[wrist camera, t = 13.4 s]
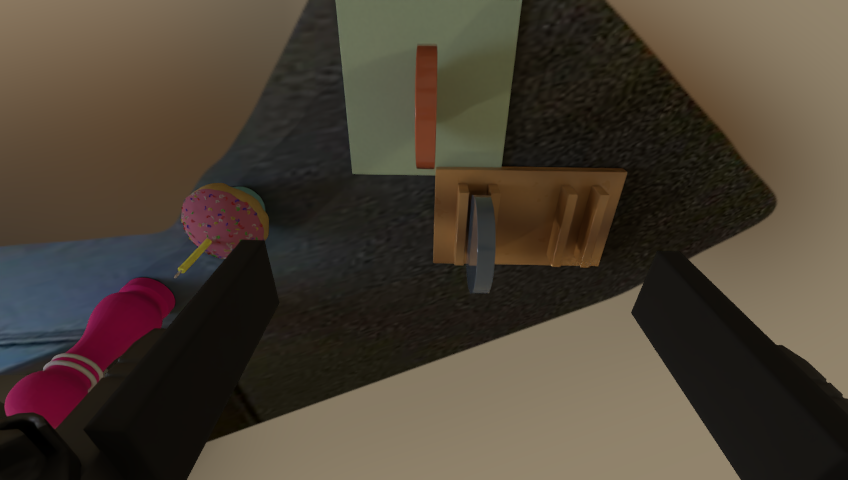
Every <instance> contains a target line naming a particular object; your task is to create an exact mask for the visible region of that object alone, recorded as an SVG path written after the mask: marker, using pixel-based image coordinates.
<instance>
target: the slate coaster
mask: <svg viewBox="0 0 848 480" xmlns="http://www.w3.org/2000/svg"><path fill="white" fill-rule="evenodd" d="M495 250H496V229H495V215H494V207H493V202H492V199H491V197H490V195H474V194H473V195H472V196H471V198H470V202H469V208H468V217H467V232H466V269H467V281H468V288H469V291H470V293H471V294H488V293H489V291H490V289H491V285H492V281H493V275H494V266H495Z"/></svg>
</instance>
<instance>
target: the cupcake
mask: <svg viewBox="0 0 848 480" xmlns="http://www.w3.org/2000/svg"><path fill="white" fill-rule="evenodd" d="M182 222H183V225H184V229H185V233H187V234H188V235H189V239H190V240H191V241H192V242H193V243H194V244H195V245H197V249H196V250H195V251H194V252H193V253H192V254H191V255H190V256H189V257H188V258H187V260H186V261H185V262H184V263H183V264H182V265H181V266H180V267H179V268H178V271H179V272H178V273H177V274H176V275H175V276H174V278H177V277H178V275H179V274H180V273H185V272H186V271H187V270H188V268H189V267H190V266H191V265H192V264H193V263H194V262H195V261H196V260H197V259H198V258H199V256H200V255H201V254H202V253H203V252H205V253H208V254H211V255H212V256H214V257H216V258H220V259H226V258H227V256H228V255H229V254H230V253H231V252H232V250H233V249H234V248H235V247H236V246H237V244H238V243H239V242H240V241H241V240H264V241H265V240H266V238H267V237H268V234H269V218H268V215H267V213H266V212H265V205H264V203H263V201H262V199H261V198H260V196H259V195H258V194H257V193H255V192H254V191H252V190H251V189H248V188H245V187H230V186H228V185H226V184H224V183H213V184H208V185H205V186H203V187H201V188H199V189H198V190H196V191H195V192H193V193H192V194H190V195H189V197H187V198H186V199H185V200H184V203H183V207H182V219H181V223H182Z"/></svg>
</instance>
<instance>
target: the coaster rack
mask: <svg viewBox="0 0 848 480" xmlns="http://www.w3.org/2000/svg"><path fill="white" fill-rule="evenodd" d="M626 175H627V172H626V171H625V170H624V169H623V168H568V167H501V168H493V167H436V175H435V212H434V250H433V263H455V265H464V264H466V232H467V217H468V208H469V202H470V198H471V196H472V195H473V194H474V195H490V197H491V199H492V202H493V207H494V215H495V229H496V250H495V264H518V265H551V266H552V267H560V266H561V265H573V266H580V267H589V266H598V265H599V262H600V259H601V256H602V252H603V249H604V246H605V243H606V240H607V236H608V233H609V230H610V227H611V223H612V220H613V217H614V214H615V211H616V207H617V204H618V201H619V198H620V195H621V191H622V188H623V185H624V182H625V179H626Z"/></svg>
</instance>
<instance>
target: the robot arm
mask: <svg viewBox="0 0 848 480" xmlns="http://www.w3.org/2000/svg"><path fill="white" fill-rule="evenodd" d="M278 305H279V299H278V295H277V291H276V287H275V283H274V278H273V274H272V270H271V266H270V262H269V258H268V254H267V249H266V245H265V241H264V240H241V241H240V242H239V243H238V244H237V246H236V247H235V248H234V249H233V250H232V252H231V253H230V254H229V255H228V256H227V258H226V259H225V260H224V261H223V262H222V264H221V265H220V266H219V267H218V268H217V269H216V271H215V272H214V273H213V274H212V275H211V277H210V278H209V279H208V280H207V281H206V283H205V284H204V285H203V286H202V287H201V289H200V290H199V291H198V292H197V293H196V295H195V296H194V297H193V298H192V299H191V301H190V302H189V303H188V304H187V305H186V307H185V308H184V309H183V310H182V311H181V313H180V314H179V315H178V316H177V317H176V319H175V320H174V321H173V322H172V323H171V325H170V326H169V327H168V328H167V329H164V328H154V329H153V330H151V331H150V332H148V333H147V334H145V335H144V336H142V337H141V338H140V339H138V340H137V341H135V342H134V343H133V344H132V345H131V346H130V347H129V348H128V349H127V350H126V352H125V353H124V354H123V355H122V356H121V357H120V358H119V359H118V363H115V364H114V365H113V366H112V367H111V368H110V369H109V370H108V372H107V373H106V375H105V378H101V379H100V380H99V382H98V383H97V384H96V385H95V386H94V387H93V388H92V389H91V390H90V391H89V393H88V394H87V395H86V396H85V397H84V398H83V399H82V400H81V401H80V403H79V404H78V405H77V406H76V407H75V408H74V409H73V410H72V411H71V413H70V414H69V415H68V416H67V417H66V418H65V419H64V420H63V421H62V423H61V424H60V425H59V426H58V427H57V428H56V429H54V428H53V427H52V426H51V425H50V424H49V422H48V421H47V420H46V419H45V418H44V417H43V416H41V415H39V414H36V413H34V412H29V413H17V414H14V415H11V416H8V417H5V418H2V419H0V480H187V478H188V476H189V474H190V472H191V470H192V469H193V467H194V465H195V463H196V461H197V459H198V457H199V455H200V453H201V451H202V449H203V448H204V446H205V444H206V442H207V440H208V438H209V436H210V434H211V432H212V430H213V428H214V427H215V425H216V423H217V421H218V419H219V417H220V415H221V413H222V411H223V409H224V408H225V406H226V404H227V402H228V400H229V398H230V396H231V394H232V392H233V390H234V388H235V387H236V385H237V383H238V381H239V379H240V377H241V375H242V373H243V371H244V369H245V368H246V366H247V364H248V362H249V360H250V358H251V356H252V354H253V352H254V350H255V348H256V347H257V345H258V343H259V341H260V339H261V337H262V335H263V333H264V331H265V329H266V327H267V326H268V324H269V322H270V320H271V318H272V316H273V314H274V312H275V310H276V308H277V307H278ZM631 313H632V315H633V316H634V318H635V319H636V321H637V323H638V324H639V326H640V327H641V329H642V330H643V331H644V333H645V335H646V336H647V338H648V339H649V341H650V342H651V344H652V345H653V347H654V348H655V350H656V351H657V353H658V354H659V356H660V357H661V359H662V360H663V362H664V363H665V365H666V367H667V368H668V369H669V371H670V372H671V374H672V376H673V377H674V379H675V380H676V382H677V383H678V385H679V386H680V388H681V389H682V391H683V392H684V394H685V395H686V397H687V398H688V400H689V401H690V403H691V405H692V406H693V408H694V409H695V411H696V412H697V414H698V415H699V417H700V418H701V420H702V421H703V423H704V424H705V426H706V427H707V429H708V430H709V432H710V433H711V435H712V436H713V438H714V439H715V441H716V442H717V444H718V446H719V447H720V449H721V450H722V452H723V453H724V455H725V456H726V458H727V459H728V461H729V462H730V464H731V465H732V467H733V468H734V470H735V471H736V473H737V474H738V476H739V477H740V479H741V480H848V399H845V398H843V397H842V393H841V392H839V391H838V390H837V389H836V388H835V387H834V386H833V385H832V384H831V383H827V382H826V379H825V378H824V377H823V376H822V375H821V374H820V373H819V372H818V371H817V370H816V369H815V368H814V367H813V366H812V365H811V364H809V363H808V362H807V361H806V360H804V359H803V358H801V357H800V356H798V355H797V354H795V353H793V352H792V351H791V350H789V349H787V348H786V347H784V346H783V345H776V344H775V343H774V342H773V341H772V340H771V339H770V338H769V337H768V336H766V335H765V334H764V333H763V332H762V331H761V330H760V329H759V328H758V327H757V326H756V325H755V324H754V323H753V322H752V321H751V320H750V319H749V318H748V317H747V316H746V315H745V314H744V313H743V312H742V311H741V310H740V309H739V308H738V307H737V306H736V305H735V304H734V303H733V302H731V301H730V300H729V299H728V298H727V297H726V296H725V295H724V294H723V293H722V292H721V291H720V290H719V289H718V288H717V287H716V286H715V285H714V284H713V283H712V282H711V281H710V280H709V279H708V278H707V277H706V276H705V275H704V274H703V273H702V272H701V271H700V270H698V269H697V268H696V267H695V266H694V265H693V264H692V263H691V262H690V261H689V260H688V259H687V258H686V257H685V256H684V255H683V254H682V253H681V252H677V251H657V252H656V255H655V257H654V259H653V262H652V264H651V266H650V269H649V271H648V274H647V276H646V278H645V281H644V283H643V286H642V288H641V291H640V293H639V295H638V298H637V300H636V302H635V305H634V307H633V309H632V312H631Z"/></svg>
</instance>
